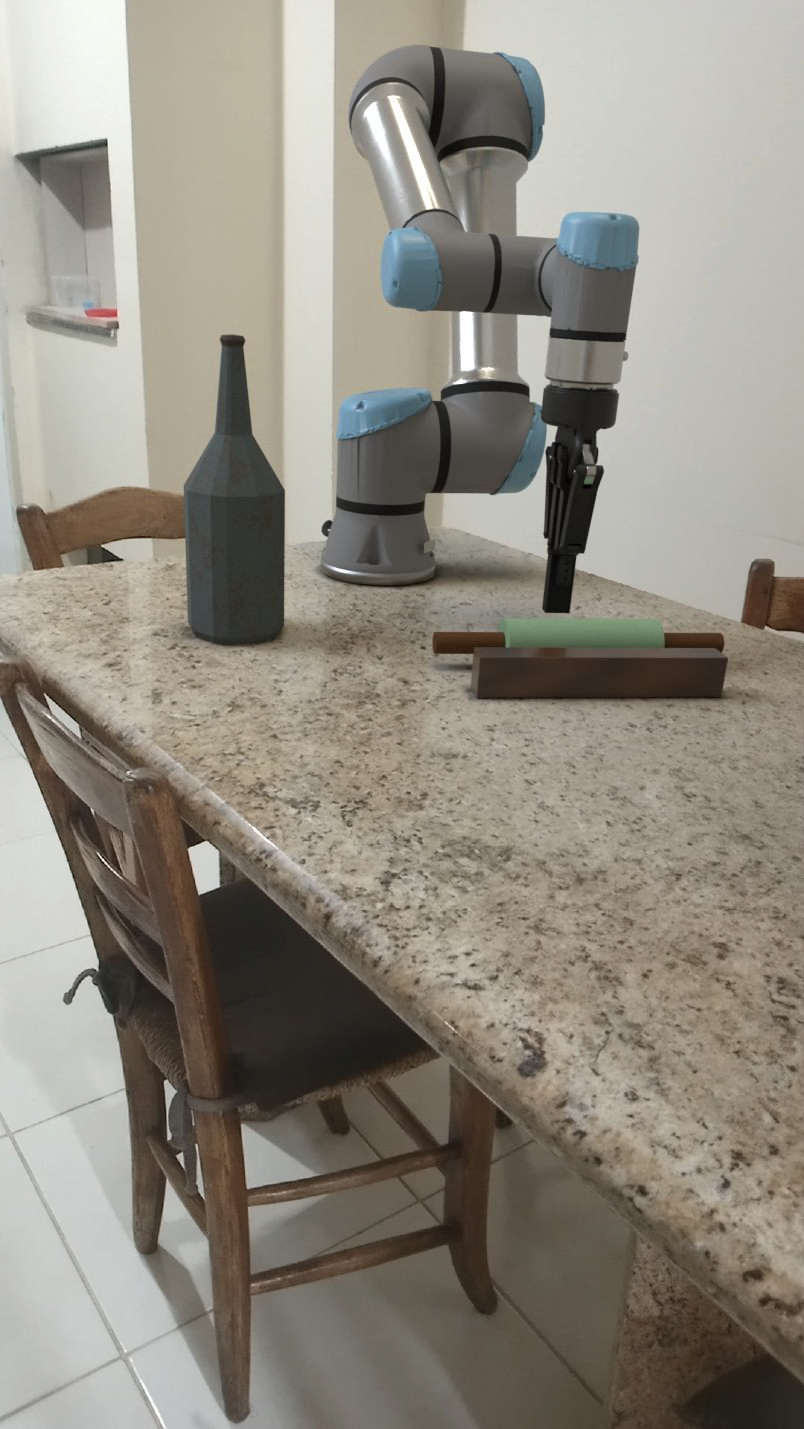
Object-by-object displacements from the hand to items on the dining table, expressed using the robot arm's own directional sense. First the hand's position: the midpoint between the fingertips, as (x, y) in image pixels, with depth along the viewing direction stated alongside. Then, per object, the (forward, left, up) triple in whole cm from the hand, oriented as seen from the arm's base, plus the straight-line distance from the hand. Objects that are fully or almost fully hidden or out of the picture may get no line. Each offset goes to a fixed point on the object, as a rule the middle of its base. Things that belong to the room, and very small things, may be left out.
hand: (555, 610), depth 111 cm
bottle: (-21, -27, -4) cm, 35 cm away
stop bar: (+13, -9, -3) cm, 16 cm away
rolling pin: (+9, -6, +1) cm, 11 cm away
